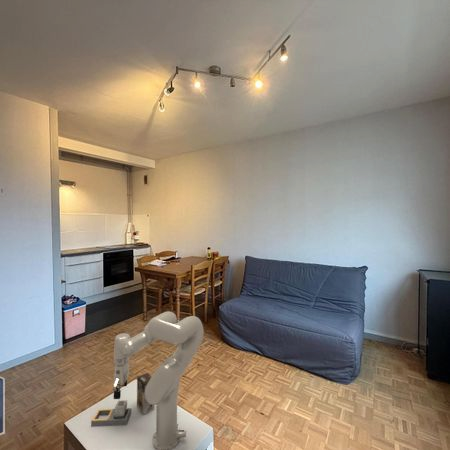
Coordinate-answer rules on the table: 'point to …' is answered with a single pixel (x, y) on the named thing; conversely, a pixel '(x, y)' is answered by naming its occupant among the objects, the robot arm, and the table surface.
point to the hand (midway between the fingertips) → (120, 392)
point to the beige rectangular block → (121, 409)
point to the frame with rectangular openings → (109, 418)
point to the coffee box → (143, 394)
